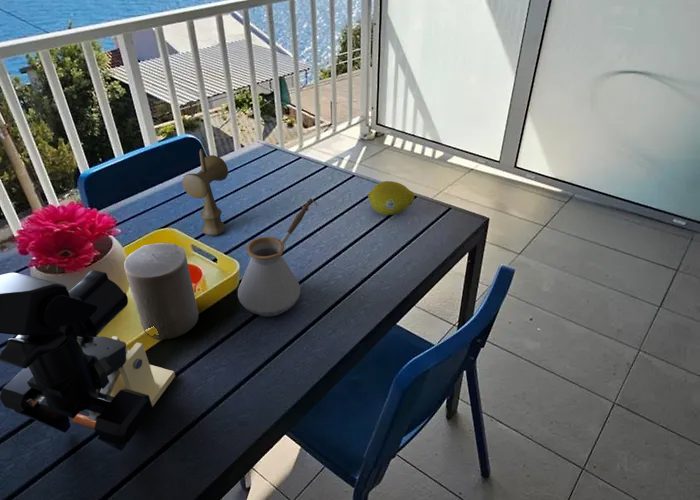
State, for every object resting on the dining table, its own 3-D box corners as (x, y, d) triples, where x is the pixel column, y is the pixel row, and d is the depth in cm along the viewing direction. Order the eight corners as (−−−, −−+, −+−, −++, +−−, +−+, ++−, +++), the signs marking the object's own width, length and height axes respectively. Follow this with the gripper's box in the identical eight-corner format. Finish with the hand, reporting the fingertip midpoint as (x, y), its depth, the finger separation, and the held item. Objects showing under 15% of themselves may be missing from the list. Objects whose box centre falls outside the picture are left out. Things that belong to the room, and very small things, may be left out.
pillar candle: (160, 348, 84) (140, 279, 75) (132, 319, 89) (110, 252, 80) (210, 319, 90) (196, 252, 81) (180, 294, 95) (164, 228, 86)
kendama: (236, 222, 115) (225, 141, 103) (215, 245, 108) (202, 161, 96) (212, 217, 116) (199, 137, 105) (191, 240, 109) (174, 156, 97)
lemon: (363, 216, 118) (364, 187, 114) (372, 200, 125) (374, 172, 120) (407, 225, 116) (410, 195, 111) (414, 209, 122) (418, 180, 117)
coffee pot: (277, 332, 87) (271, 265, 78) (226, 309, 92) (215, 243, 83) (338, 267, 103) (339, 205, 94) (291, 250, 107) (288, 189, 98)
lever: (111, 433, 68) (101, 431, 66) (78, 423, 69) (67, 420, 67) (146, 356, 72) (137, 352, 70) (113, 347, 74) (104, 343, 72)
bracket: (136, 428, 71) (119, 384, 66) (89, 414, 73) (68, 370, 67) (175, 376, 79) (163, 332, 73) (132, 364, 81) (117, 320, 75)
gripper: (165, 334, 64) (185, 409, 73) (45, 303, 68) (79, 377, 77) (107, 403, 55) (139, 478, 65) (-26, 363, 60) (22, 438, 69)
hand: (94, 438), depth 69 cm, fingers open, 9 cm apart
